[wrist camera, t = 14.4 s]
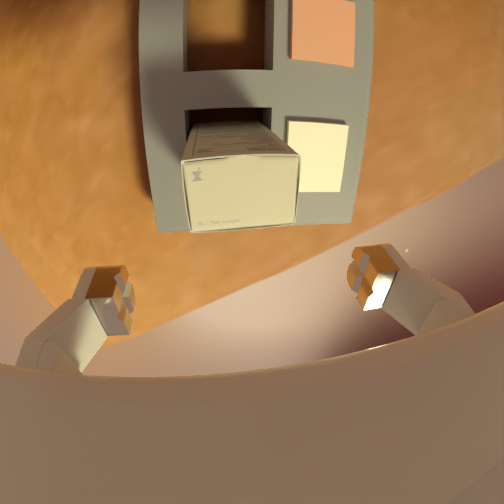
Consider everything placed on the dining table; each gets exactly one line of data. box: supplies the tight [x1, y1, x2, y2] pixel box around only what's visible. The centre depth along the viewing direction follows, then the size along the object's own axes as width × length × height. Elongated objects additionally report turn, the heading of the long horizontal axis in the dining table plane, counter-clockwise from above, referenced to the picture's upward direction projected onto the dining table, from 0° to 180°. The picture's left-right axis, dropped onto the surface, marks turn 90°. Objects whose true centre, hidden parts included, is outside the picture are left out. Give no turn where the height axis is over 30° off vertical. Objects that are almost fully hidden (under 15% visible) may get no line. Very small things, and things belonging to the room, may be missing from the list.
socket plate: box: [139, 0, 374, 233], centre depth 19 cm, size 18×24×4 cm
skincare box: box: [181, 121, 301, 233], centre depth 19 cm, size 6×4×12 cm
